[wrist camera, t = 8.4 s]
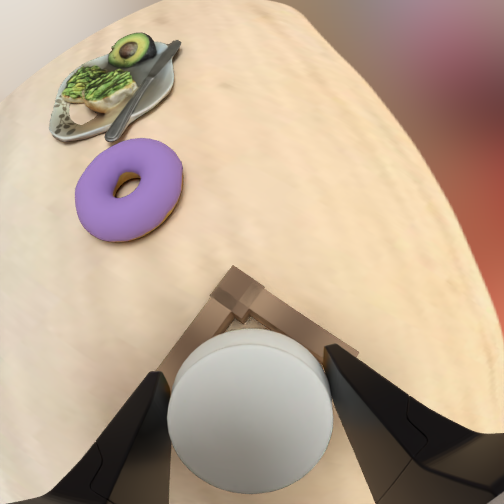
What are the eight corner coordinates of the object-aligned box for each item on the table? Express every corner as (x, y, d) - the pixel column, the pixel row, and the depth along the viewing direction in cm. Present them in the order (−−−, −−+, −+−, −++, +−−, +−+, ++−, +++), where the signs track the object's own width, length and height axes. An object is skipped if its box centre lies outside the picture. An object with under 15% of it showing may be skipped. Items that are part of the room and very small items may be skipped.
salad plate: (194, 130, 28) (186, 97, 23) (42, 178, 26) (21, 155, 22) (182, 41, 34) (176, 16, 30) (68, 78, 33) (57, 56, 28)
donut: (112, 273, 22) (78, 243, 18) (83, 209, 26) (57, 178, 22) (211, 200, 24) (194, 158, 20) (163, 151, 28) (146, 114, 24)
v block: (346, 366, 20) (362, 368, 17) (162, 396, 19) (146, 403, 16) (324, 263, 23) (335, 248, 19) (149, 292, 22) (132, 280, 19)
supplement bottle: (284, 444, 14) (316, 532, 5) (190, 415, 15) (117, 473, 6) (314, 355, 16) (386, 348, 7) (221, 327, 16) (178, 287, 7)
